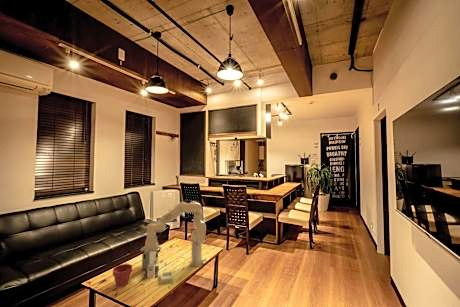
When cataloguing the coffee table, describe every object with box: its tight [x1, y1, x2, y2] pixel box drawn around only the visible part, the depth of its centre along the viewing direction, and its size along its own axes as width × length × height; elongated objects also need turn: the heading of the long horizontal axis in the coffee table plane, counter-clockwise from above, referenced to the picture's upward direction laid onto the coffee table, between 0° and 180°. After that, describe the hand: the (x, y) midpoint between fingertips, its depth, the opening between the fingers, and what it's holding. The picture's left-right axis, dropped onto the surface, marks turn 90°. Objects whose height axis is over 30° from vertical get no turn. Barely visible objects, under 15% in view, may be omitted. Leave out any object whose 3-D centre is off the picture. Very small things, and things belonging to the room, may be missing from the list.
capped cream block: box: [146, 263, 156, 279], centre depth 191 cm, size 6×8×8 cm
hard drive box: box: [141, 241, 159, 271], centre depth 207 cm, size 16×8×20 cm, turn 168°
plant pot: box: [112, 263, 133, 288], centre depth 178 cm, size 14×14×13 cm
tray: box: [160, 271, 174, 284], centre depth 185 cm, size 10×11×3 cm
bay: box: [142, 265, 160, 280], centre depth 191 cm, size 11×11×5 cm
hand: (150, 258), depth 191 cm, fingers open, 9 cm apart
